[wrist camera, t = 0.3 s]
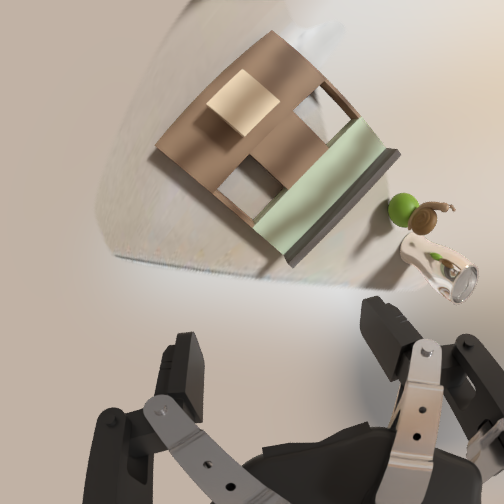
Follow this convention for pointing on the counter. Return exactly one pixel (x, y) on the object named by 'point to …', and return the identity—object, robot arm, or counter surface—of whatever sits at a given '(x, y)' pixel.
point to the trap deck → (282, 150)
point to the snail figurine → (415, 213)
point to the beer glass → (441, 267)
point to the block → (242, 102)
